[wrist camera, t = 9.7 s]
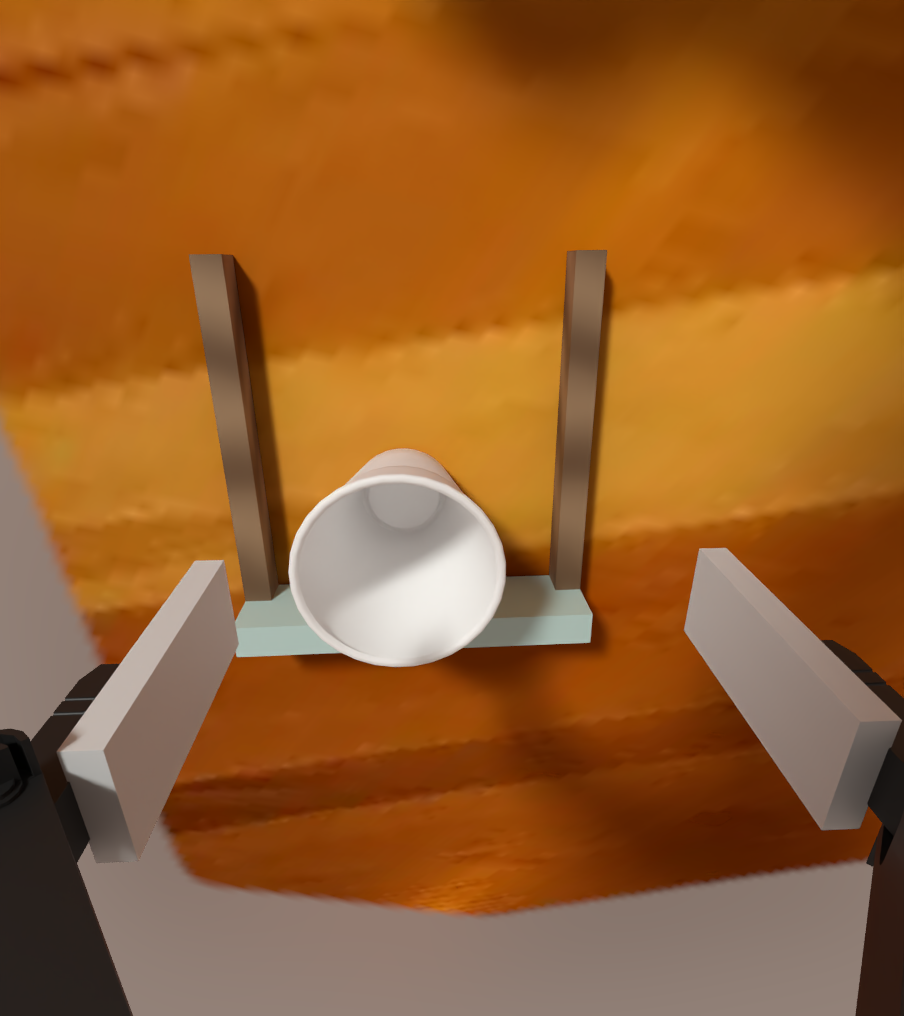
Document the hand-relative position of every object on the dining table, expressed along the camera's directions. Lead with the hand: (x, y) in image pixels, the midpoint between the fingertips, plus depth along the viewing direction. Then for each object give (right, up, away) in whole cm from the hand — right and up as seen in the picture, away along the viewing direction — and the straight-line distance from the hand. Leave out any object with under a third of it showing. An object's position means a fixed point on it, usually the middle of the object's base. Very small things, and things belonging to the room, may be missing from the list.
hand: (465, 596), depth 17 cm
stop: (-3, -3, +23) cm, 24 cm away
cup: (-3, +3, +21) cm, 21 cm away
